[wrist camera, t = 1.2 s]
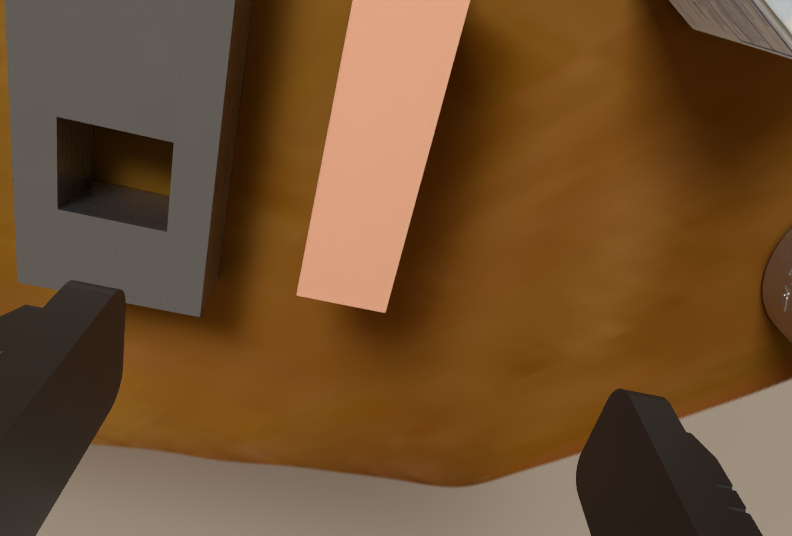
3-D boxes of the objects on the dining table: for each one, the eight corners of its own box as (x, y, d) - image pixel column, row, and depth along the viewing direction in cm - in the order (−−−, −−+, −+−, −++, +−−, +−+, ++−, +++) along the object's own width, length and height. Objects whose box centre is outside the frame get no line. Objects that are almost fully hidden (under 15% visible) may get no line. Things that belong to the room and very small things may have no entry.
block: (467, -73, 25) (489, -72, 19) (386, 242, 31) (385, 313, 26) (377, -98, 25) (372, -104, 19) (314, 226, 31) (296, 295, 25)
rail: (284, -259, 22) (266, -289, 19) (218, 279, 32) (200, 317, 29) (45, -330, 21) (-13, -373, 18) (54, 247, 31) (17, 282, 28)
